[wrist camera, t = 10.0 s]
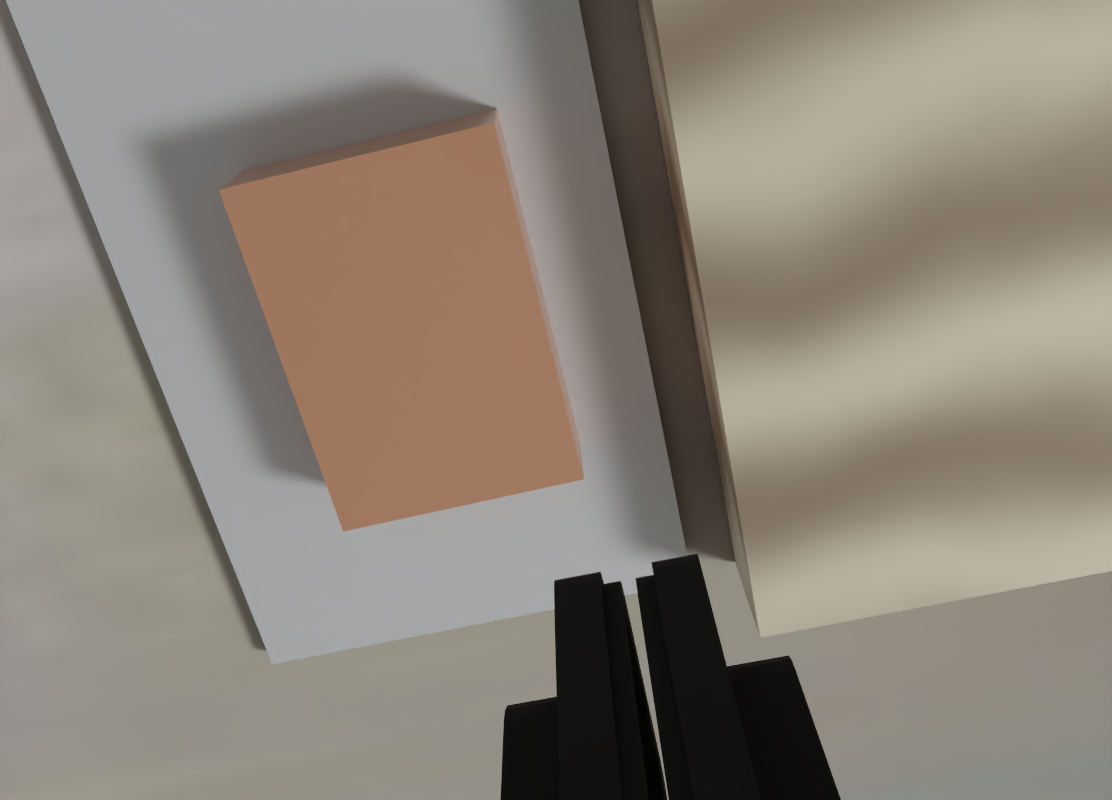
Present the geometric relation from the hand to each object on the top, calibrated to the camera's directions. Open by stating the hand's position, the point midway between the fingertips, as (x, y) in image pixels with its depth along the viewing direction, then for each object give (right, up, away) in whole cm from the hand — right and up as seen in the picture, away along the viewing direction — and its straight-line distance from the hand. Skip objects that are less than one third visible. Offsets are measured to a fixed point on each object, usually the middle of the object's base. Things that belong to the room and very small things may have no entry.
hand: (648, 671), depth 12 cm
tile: (-5, +5, +17) cm, 18 cm away
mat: (-6, +6, +18) cm, 20 cm away
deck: (+9, +9, +17) cm, 21 cm away
